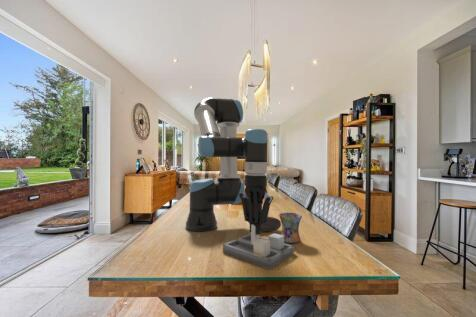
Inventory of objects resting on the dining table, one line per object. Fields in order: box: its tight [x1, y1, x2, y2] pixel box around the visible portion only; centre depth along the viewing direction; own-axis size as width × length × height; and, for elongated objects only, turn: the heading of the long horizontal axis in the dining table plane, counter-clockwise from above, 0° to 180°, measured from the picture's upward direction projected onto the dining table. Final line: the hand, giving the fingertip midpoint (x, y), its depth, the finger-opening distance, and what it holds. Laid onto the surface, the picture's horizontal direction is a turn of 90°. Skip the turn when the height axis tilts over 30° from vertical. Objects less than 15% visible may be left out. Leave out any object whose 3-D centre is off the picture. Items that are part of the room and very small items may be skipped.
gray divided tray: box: [222, 233, 295, 270], centre depth 84 cm, size 20×16×3 cm
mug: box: [278, 212, 303, 244], centre depth 98 cm, size 12×9×11 cm
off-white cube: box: [253, 238, 270, 257], centre depth 78 cm, size 4×4×4 cm
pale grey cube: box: [267, 233, 285, 250], centre depth 84 cm, size 4×4×4 cm
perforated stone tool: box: [261, 216, 282, 233], centre depth 109 cm, size 15×5×7 cm, turn 99°
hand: (255, 243), depth 80 cm, fingers closed
